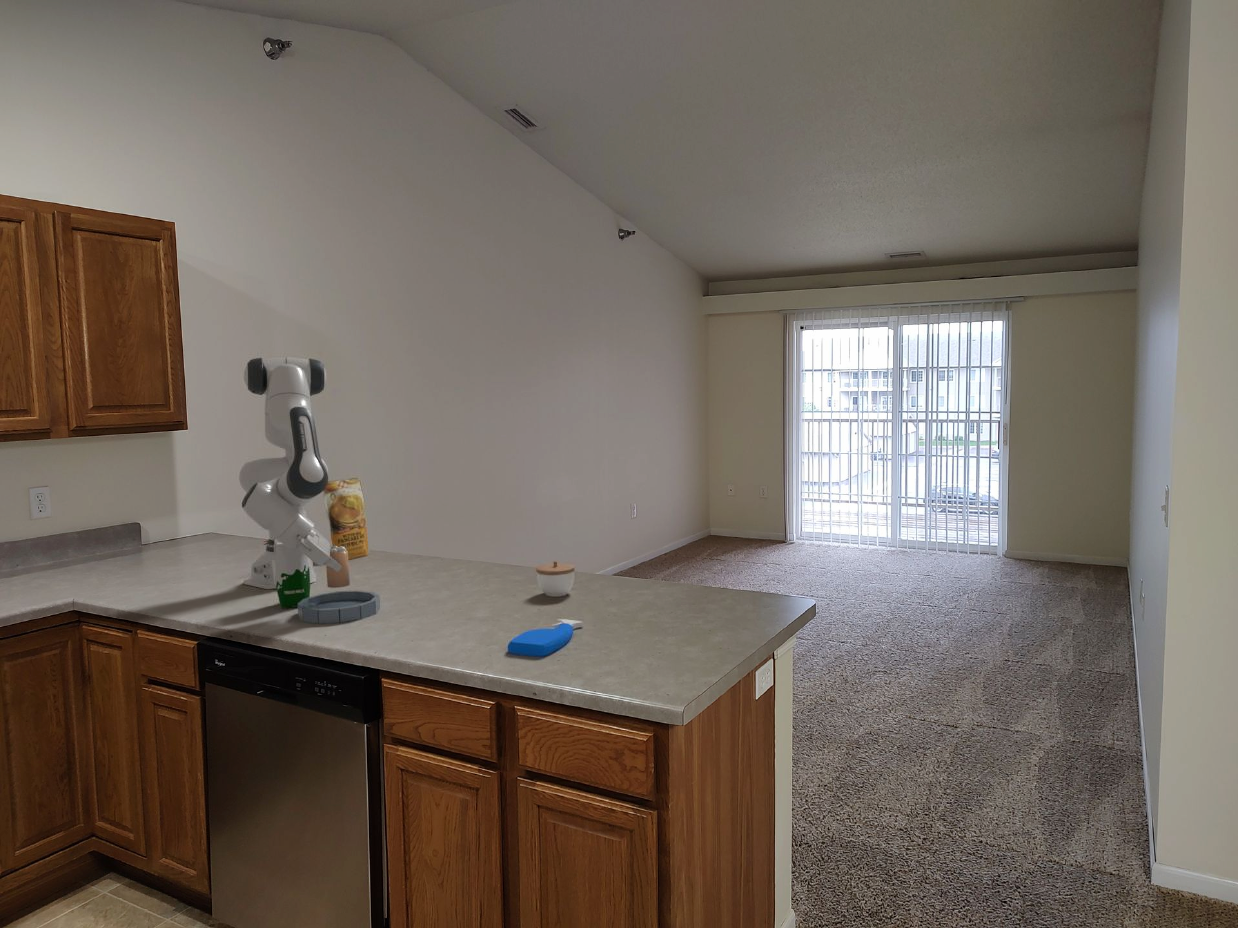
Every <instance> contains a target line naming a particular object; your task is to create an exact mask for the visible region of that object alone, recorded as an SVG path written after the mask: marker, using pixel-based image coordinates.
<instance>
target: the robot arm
mask: <svg viewBox="0 0 1238 928" xmlns="http://www.w3.org/2000/svg"><path fill="white" fill-rule="evenodd" d="M327 375H328V374H327V371H326V368H325V367H324V364H323V362H321V361H320V360H319V359H318V360H317V359H314V358H309V359H307V358H306V359H305V358H301V357H300V358H299V357H291V356H289V357H288V356H287V357H268V358H262V357H257V358H256V357H255V358H251V359H250V360H249V361H248V362H247V365H246V366H245V368H244V372H243V381H244V384H245V385H246V387H247V390H248V391H249V392H250V393H251V394H254V395H258V396H262V395H265V401H264V436H265V438H266V440H267V441H268V442H269V443H270V444H271V445H273V446H276V447H278V448H280V449H282V450H284V453H285V456H283V457H268V458H259V459H255V460H251V461H247V462H245V463H244V464H243V466H242V467H241V469H240V471H239V473H238V474H239V477H238V479H239V483H240V486H241V488H242V489H243V490H244V492H246V494H245V496H244V497H243V498H242V501H241V502H242V503H241V508H242V509H243V511H244V512H245V513H246V514H247V515H248V517H249V518H251V519H252V520H253V521H254V522H255V523H256V524H257V525H258V526H260V527H261V528H262V529H264V530H266V531H268V536H269V539H268V540H264V541H263V546H266V548H265V551H264V552H263V553H262V554H261V555H260V556H259V557H258V558H257V559H256V560H255V561H254V562H253V563H252V564H251V568H250V570H251V571H250V576H251V577H248V578H246V579H244V580H243V581H242V584H243V583H244V584H243V585H247V586H251V587H256V588H259V589H264V590H274V589H276V578H275V562H274V540H279V541H280V542H281V543H282V544H284V545H285V546H286V547H288V548H289V549H290V550H293V549H294V548H295V547H296V548H297V549H298V550H299V551H301V552H303V553H304V554H305V555H306V556H307V557H308V558H309V571H310V584H312V583H314V582H316V581H317V573H316V572H315V569H314V563H315V565H317V566H318V567H322V566H324V565H325V566H326V565H327V566H329V567H331V568H333V569H334V570H335V571H337V572H338V571H339V570H340V569H341V568H342V566H341V565H340V564H339V563H338V562H336V561H335V560H334V559H332V557H330V550H331V543H330V542H329V541H328V540H327V538H325V537H324V536H323V535H322V534H321V532H319V531H318V530H317V529H316V528H315V526H316V524H315V522H313V521H312V520H311V519H309V518H308V516H307V512H306V510H305V509H304V508H303V507H305V505H306V504H307V503H309V502H310V501H311V500H313V499H314V498H315V497H317V496H318V495H320V494H321V493H323V491H324V489H325V488H326V486H327V484H328V481H329V468H328V465H327V463H326V462H325V460H324V459H323V458H321V454H320V448H319V443H318V437H317V428H316V425H315V419H314V416H313V414H312V402H311V401H312V400H311V397H312V396H316V395H318V394H320V393H322V392H323V391H324V389H325V386H326V384H327V379H328V377H327Z"/></svg>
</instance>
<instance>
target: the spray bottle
mask: <svg viewBox="0 0 1238 928" xmlns="http://www.w3.org/2000/svg"><path fill="white" fill-rule="evenodd" d="M555 622H556V623H555V624H551V625H550V628H537V629H536V628H535V629H530V630H527V631H524V632H522V633H521V634H519V635H517V636H516V637H513V638H512V639H511V640H510V641H509V643H508V645H507V651H508V653H510V654H513V655H520V656H527V657H537V658H538V657H539V658H543V657H546V656H548V655H550V654H552V653H554V652H556V651H558V650H560V649H561V648H562V647H564V646H565V645H566V644H568V642H570V640H571V638H572V636H573V633H574V630H575V629H578V628H583V627H584V622H583V621H580V620H572V619H566V618H563V619H556V620H555Z"/></svg>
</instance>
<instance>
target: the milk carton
mask: <svg viewBox="0 0 1238 928" xmlns="http://www.w3.org/2000/svg"><path fill="white" fill-rule="evenodd" d="M274 562H275V578H276V588H275V589H276V593H277V597H278V601H279V605H280V606H281V609H282V610H283V609H290V608H289V607H291V608H298V603H299V602H300V601H302V600H303V599H305V598H308V597H311V596H310V595H311V594H310V593H311V583H310V571H309V558H308V557H307V556H306V555H305V554H304V553H303V552H301V551H299V550H298V549H297V548H296V547H295V548H294V549H293V550H290V549H289V548H288V547H286V546H285V545H284V544H282V543H281V542H280V541H279V540H274Z"/></svg>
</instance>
